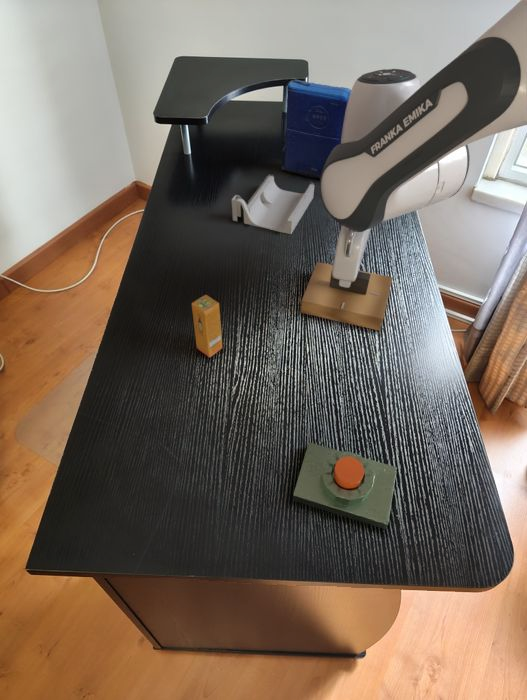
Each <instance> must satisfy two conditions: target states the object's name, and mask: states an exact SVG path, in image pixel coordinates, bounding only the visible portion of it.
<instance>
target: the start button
mask: <svg viewBox="0 0 527 700" xmlns="http://www.w3.org/2000/svg"><path fill="white" fill-rule="evenodd" d="M333 475H334V479H335V481H336V483H337V484H338V485H339V486H340V487H342V488H345V489H354V488H356V487H358V486H359V485H360V483H361V481H362V478H363V475H364V468H363V465H362V464H361V463H360V461H358V460H357V459H355V458H353V457H343V458H341V459H339V460H338V461H337V463H336V465H335V469H334V474H333Z"/></svg>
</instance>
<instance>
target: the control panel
mask: <svg viewBox="0 0 527 700" xmlns="http://www.w3.org/2000/svg"><path fill="white" fill-rule="evenodd" d="M332 269H333V264H330V263H324V262H321V261H316V264H315V266H314V268H313V271H312V273H311V275H310V276H311V277H310V278H309V281H308V283H307V286H306V288H305V291H304V294H303V296H302V298H301V304H300V313H301V314H304V315H309V316H314V317H318V318H323V319H327V320H331V321H334V322H335V321H336V322H340V323H345V324H349V325H353V326H358V327H362V328H366V329H371V330H375V331H381V328H382V324H383V321H384V317H385V314H386V308H387V304H388V300H389V295H390V291H391V287H392V282H393V277H392V276H389V275H383V274H379V273H373V272H369V271H363V270H360V269H359V272H364V273H368V274H371V276H370V280H369V284H368V289H367V293H366V295H364V294H359V293H355V292H350V291H345V290H341V289H336V288H331V287H329V285H330V278H331V272H332Z"/></svg>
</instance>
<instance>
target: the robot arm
mask: <svg viewBox="0 0 527 700" xmlns="http://www.w3.org/2000/svg"><path fill="white" fill-rule="evenodd" d="M523 126H524V127H525V126H527V0H519V2H517V3H516V4H515V5H514V6H513V7H512V8H511V9H510V10H509V11H508V12H507V13H505V14H504V15H503V16H502V17H501V18H500V19H499V20H498V21H496V22H495V23H494V24H493V25H492V26H491V27H490V28H488V29H487V30H486V31H485V32H483V34H482V35H480V36H479V37H477V39H476V40H475V41H474V42H472V43H471V44H470V45H469V46H468V47H467V48H466V49H465V50H463V51H462V52H461V53H460V54H459V55H458V56H457V57H455V58H454V59H453V60H452V61H450V62H449V63H448V64H447V65H446V66H444V67H443V68H442V69H440V70H439V71H438V72H436V74H435V75H433V76H432V77H431V78H429V79H428V80H427V81H426V82H425V83H424V84H423V85H422V86H421V81H420V79H419V77H418V75H416V74H415V73H414V72H412V71H410V70H406V69H402V68H401V69H400V68H389V69H388V68H387V69H385V68H384V69H383V68H382V69H378V70H373V71H370V72H367V73H363V74H361V75H360V76H359V77H357V79H356V80H355V82H354V83H353V85H352V87H351V93H350V96H349V99H348V103H347V107H346V112H345V117H344V123H343V129H342V136H341V144H339V145H337V146H336V147H334V149H333V150H332V151H331V153H330V155H329V157H328V159H327V160H326V163H325V165H324V168H323V170H322V174H321V178H319V195H320V199H321V203H322V206H323V207H324V210H325V211H326V212H327V214H328V215H329V216H330V217H331V218H332V219H333V220H334V221H336V222H337V223H338V224H339V225H341V228H340V231H339V235H338V239H337V241H336V247H335V252H334V257H333V263H332V265H333V269H332V276H333V278H335V279H339V280H340V281H339V285H340V286H342V287H346V288H349V287H350V285H351V282H354V281H355V280H356V277H357V274H358V271H359V270H360V267H361V264H362V262H363V261H362V260H363V257H364V254H365V251H366V247H367V244H368V241H369V238H370V237H369V236H370V234H371V230H372V228H374V227H377V226H378V225H381V224H382V223H384V222H388V221H390V220H393V219H396V218H399V217H401V216H404V215H407V214H409V213H412V212H415V211H418V210H421V209H423V208H426V207H430V206H432V205H435V204H437V203H440V202H442V201H445V200H447V199H449V198H452V197H454V196H455V195H457V193H459V192H460V191H461V189H462V187H463V185H464V184H465V181H466V179H467V177H468V173H469V168H470V160H471V159H470V157H471V156H470V149H469V144H472V143H474V142H477V141H480V140H482V139H485V138H487V137H491V136H493V135H497V134H500V133H502V132H507V131H509V130H513V129H517V128H520V127H523Z"/></svg>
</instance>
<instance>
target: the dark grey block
mask: <svg viewBox="0 0 527 700" xmlns="http://www.w3.org/2000/svg"><path fill="white" fill-rule="evenodd" d="M364 272H365V271H364ZM364 272H359V271H358V274H357V277H356V280H355V281H354V282H351V285H350V287H349V288H346V287H342V286H340V285H339V281H340V280H339V279H335V278H333V276H332V272H331V278H330V285H329V287H331V288H336V289H341V290H345V291H350V292H355V293H359V294H364V295H366V293H367V289H368V284H369V280H370V276H371V274H368V273H364Z"/></svg>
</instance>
